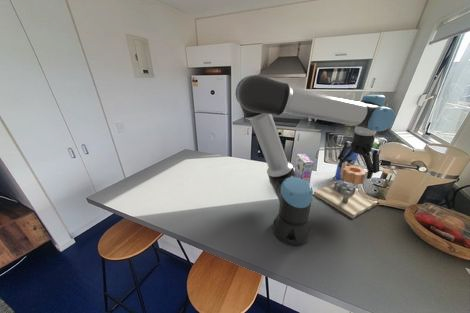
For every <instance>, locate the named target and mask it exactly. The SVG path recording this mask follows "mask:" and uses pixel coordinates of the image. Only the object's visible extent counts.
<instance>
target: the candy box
mask: <svg viewBox="0 0 470 313" xmlns="http://www.w3.org/2000/svg"><path fill="white" fill-rule="evenodd" d="M294 164H295V166H294V172H295V175H296V177H297V178H301V179H302V180H305V181H307V182H308V183H309V184H310V183H311V178H312V172H313V166H314V161H313V160H312V159H310V157H308V155H307V154H306V153H296V157H295V163H294ZM310 185H311V184H310Z"/></svg>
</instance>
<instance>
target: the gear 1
mask: <svg viewBox="0 0 470 313" xmlns="http://www.w3.org/2000/svg"><path fill="white" fill-rule="evenodd" d="M366 171H368V170H367V169H365V168H364V167H362V166H356V165H355V164H354V165H350V166H344V167H343V169H342V173H341V179H344V181H345V182H347V183H353V184H354V185H355V186H358V185H362V183H363V179H364V176H365V172H366Z"/></svg>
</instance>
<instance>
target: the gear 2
mask: <svg viewBox="0 0 470 313" xmlns="http://www.w3.org/2000/svg"><path fill="white" fill-rule="evenodd" d="M334 183H335V186H334V188H335V191H336V192H340V194H342V195H344V193H345V191H349V192H350V196H352V194H354V193H355V190H356V188H357V186H356V185H354V184H353V183H347V182H345V181H342V180H336V181H335V182H334Z"/></svg>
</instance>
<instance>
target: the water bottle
mask: <svg viewBox="0 0 470 313" xmlns="http://www.w3.org/2000/svg"><path fill="white" fill-rule="evenodd" d="M351 149H352V147H351V146H350V147H349V149H348V150H347V152H346V154H345V156H346V155H347V154H348V153H349V151H350V150H351ZM341 151H342V149H341V150H340V152H339V154H340V153H341ZM345 156H344V157H345ZM344 157H343V158H344ZM358 157H359V154H357V153H354V154H353V155H352V156H351V157H350V158H349V159H348V160H347V161H345V162H347V166H350V165H354V166H355V164H356V162H357V159H358ZM340 164H341V161H340V160H339V162H338V163H337V167H336V171H335V175H334V179H335V180H336V181H338V180H342V181H344V179H341V175H340V172H341V168H340Z"/></svg>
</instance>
